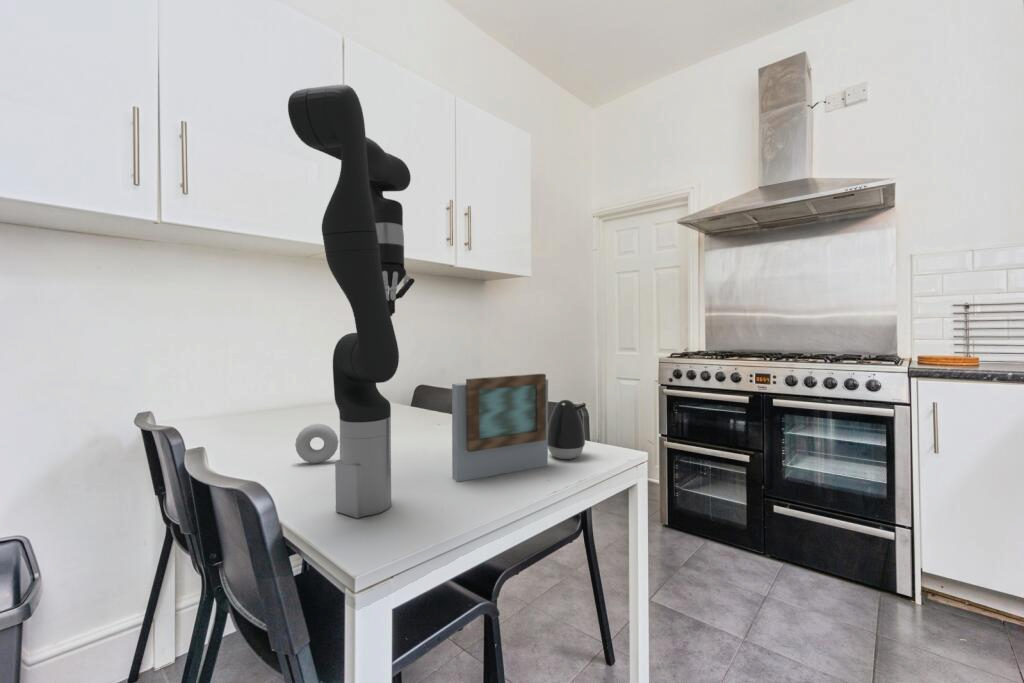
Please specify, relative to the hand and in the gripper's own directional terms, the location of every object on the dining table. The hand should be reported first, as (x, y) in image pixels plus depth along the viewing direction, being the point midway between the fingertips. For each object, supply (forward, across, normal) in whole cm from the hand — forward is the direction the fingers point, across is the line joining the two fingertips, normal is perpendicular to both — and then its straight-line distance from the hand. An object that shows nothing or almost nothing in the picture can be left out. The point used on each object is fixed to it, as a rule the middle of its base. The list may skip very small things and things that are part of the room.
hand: (388, 315), depth 108 cm
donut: (+37, -16, +11) cm, 42 cm away
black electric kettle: (+37, +43, -14) cm, 59 cm away
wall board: (+37, +22, -17) cm, 47 cm away
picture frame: (+30, +23, -20) cm, 42 cm away
